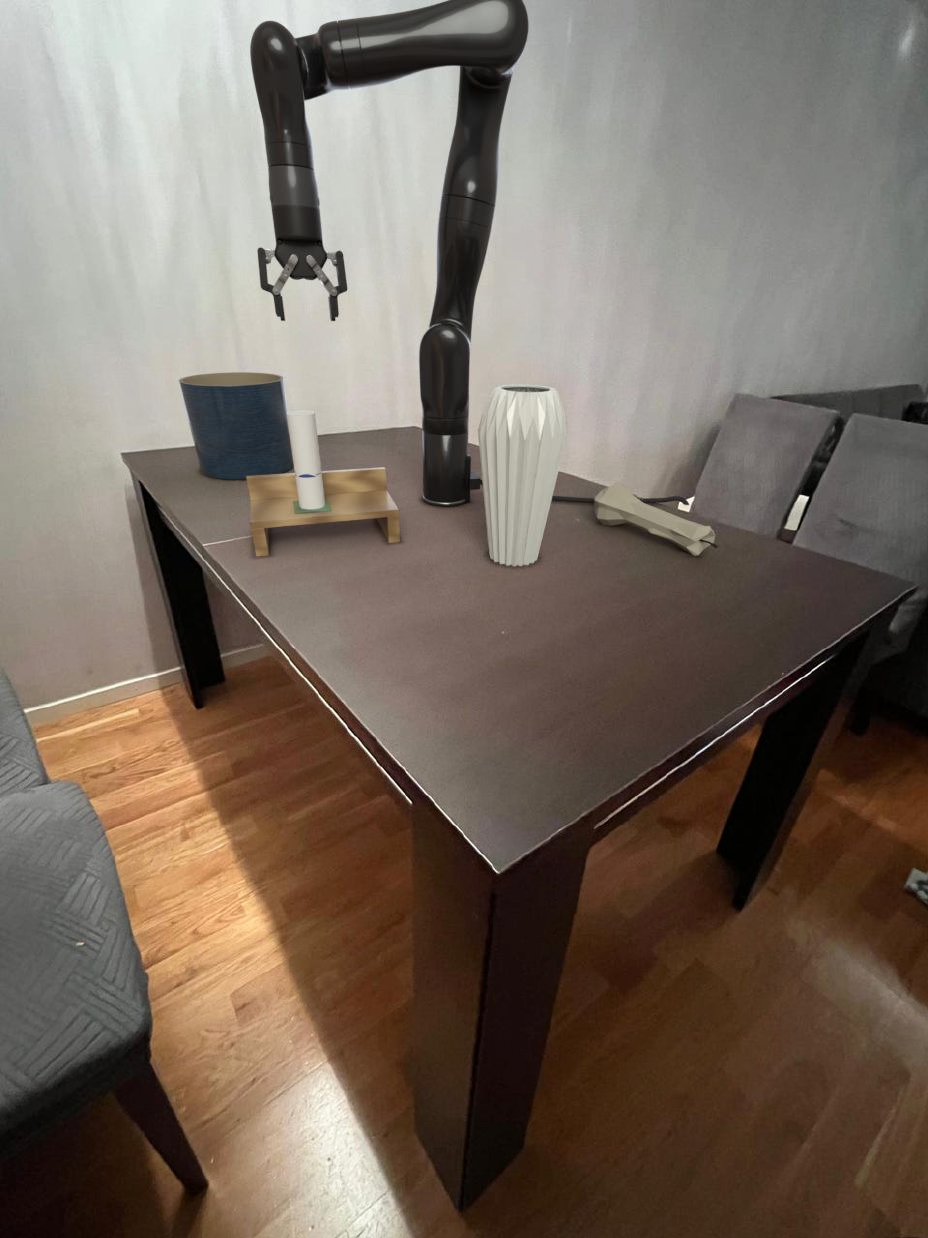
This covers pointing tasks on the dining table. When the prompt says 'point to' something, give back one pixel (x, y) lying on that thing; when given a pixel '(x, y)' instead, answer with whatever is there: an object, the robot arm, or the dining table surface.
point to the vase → (520, 467)
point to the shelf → (344, 501)
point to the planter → (238, 423)
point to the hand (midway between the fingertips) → (308, 320)
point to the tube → (306, 458)
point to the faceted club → (650, 519)
